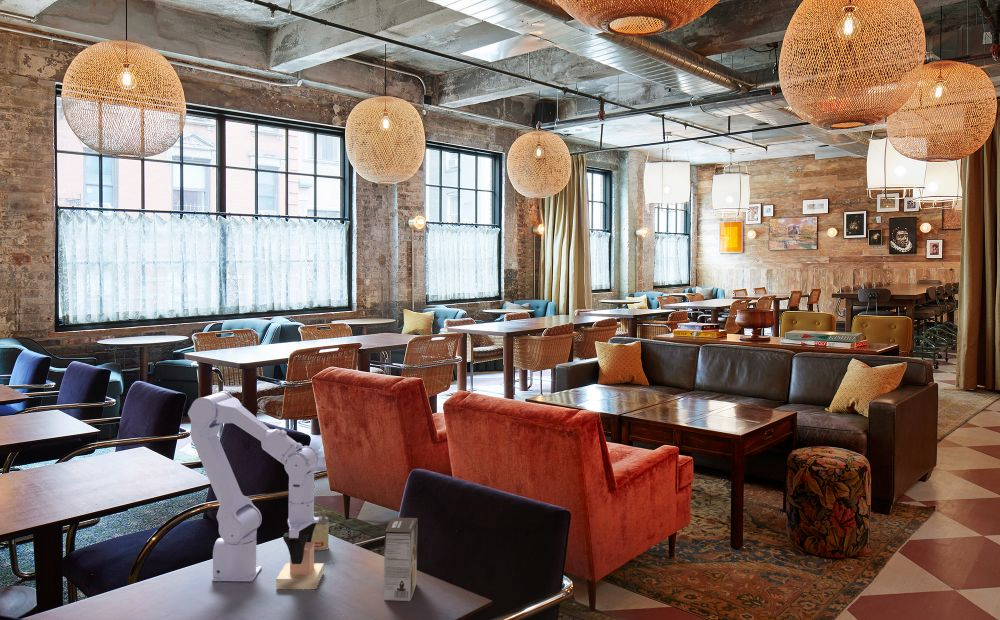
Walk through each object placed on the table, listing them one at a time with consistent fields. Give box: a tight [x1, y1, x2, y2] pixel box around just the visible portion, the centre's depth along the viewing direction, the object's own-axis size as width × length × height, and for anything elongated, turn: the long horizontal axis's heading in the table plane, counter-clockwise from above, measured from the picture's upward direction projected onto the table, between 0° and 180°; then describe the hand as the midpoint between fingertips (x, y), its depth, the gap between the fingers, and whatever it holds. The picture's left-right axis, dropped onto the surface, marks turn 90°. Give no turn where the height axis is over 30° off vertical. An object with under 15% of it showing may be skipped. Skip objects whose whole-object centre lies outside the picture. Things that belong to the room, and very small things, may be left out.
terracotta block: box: [289, 542, 315, 575], centre depth 173 cm, size 4×4×6 cm
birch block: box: [275, 562, 325, 591], centre depth 173 cm, size 9×9×3 cm
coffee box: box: [383, 517, 419, 602], centre depth 169 cm, size 9×6×16 cm
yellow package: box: [311, 509, 330, 551], centre depth 193 cm, size 7×4×10 cm, turn 97°
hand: (300, 556), depth 173 cm, fingers open, 7 cm apart
